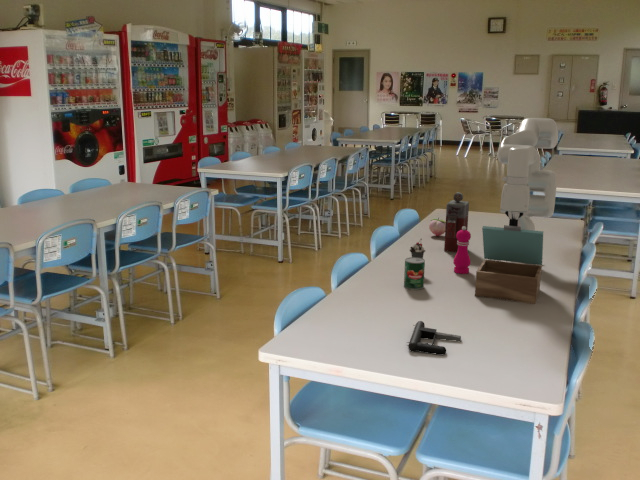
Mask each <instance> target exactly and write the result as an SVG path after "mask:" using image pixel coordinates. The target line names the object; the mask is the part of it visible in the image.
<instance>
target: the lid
mask: <svg viewBox="0 0 640 480" xmlns="http://www.w3.org/2000/svg"><path fill="white" fill-rule="evenodd" d="M481 228H482V231H481V232H482V242H483V243H482V244H483V245H482V246H483V260H484V259H485V260H494V261H503V262H506V261H510V262H519V263H525V264H534V265H540V266H543V254H544V253H543V250H544V231H543V230H535V231H533V230H522V229H521V227H519V226H509V224H508V225H507V224H506V225H504V226H503V227H500V226H499V227H497V226H490V225H489V226H487V225H482V227H481Z"/></svg>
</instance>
